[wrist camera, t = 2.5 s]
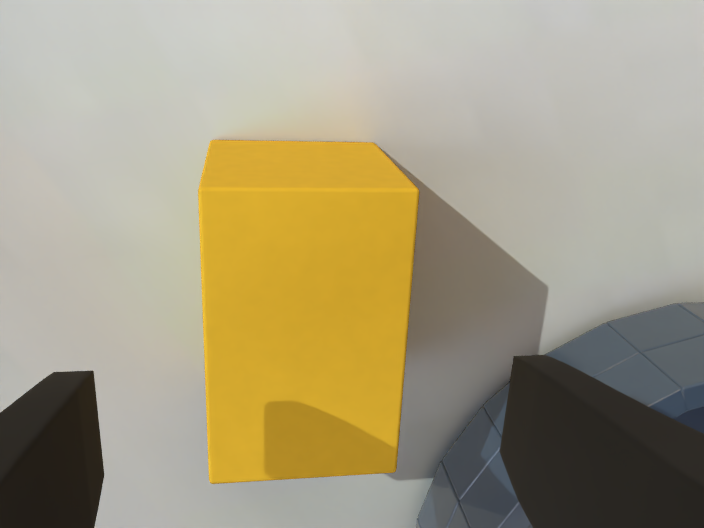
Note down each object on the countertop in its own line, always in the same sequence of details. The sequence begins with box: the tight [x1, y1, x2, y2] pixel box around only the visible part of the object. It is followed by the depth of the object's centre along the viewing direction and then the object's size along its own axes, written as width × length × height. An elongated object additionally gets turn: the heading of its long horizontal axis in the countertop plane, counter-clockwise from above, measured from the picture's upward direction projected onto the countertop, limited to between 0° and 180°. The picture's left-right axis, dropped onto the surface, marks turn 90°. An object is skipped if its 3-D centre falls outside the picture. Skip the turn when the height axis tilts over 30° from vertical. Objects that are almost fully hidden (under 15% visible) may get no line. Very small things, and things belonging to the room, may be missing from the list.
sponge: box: [198, 140, 419, 484], centre depth 17 cm, size 4×7×5 cm, turn 178°
